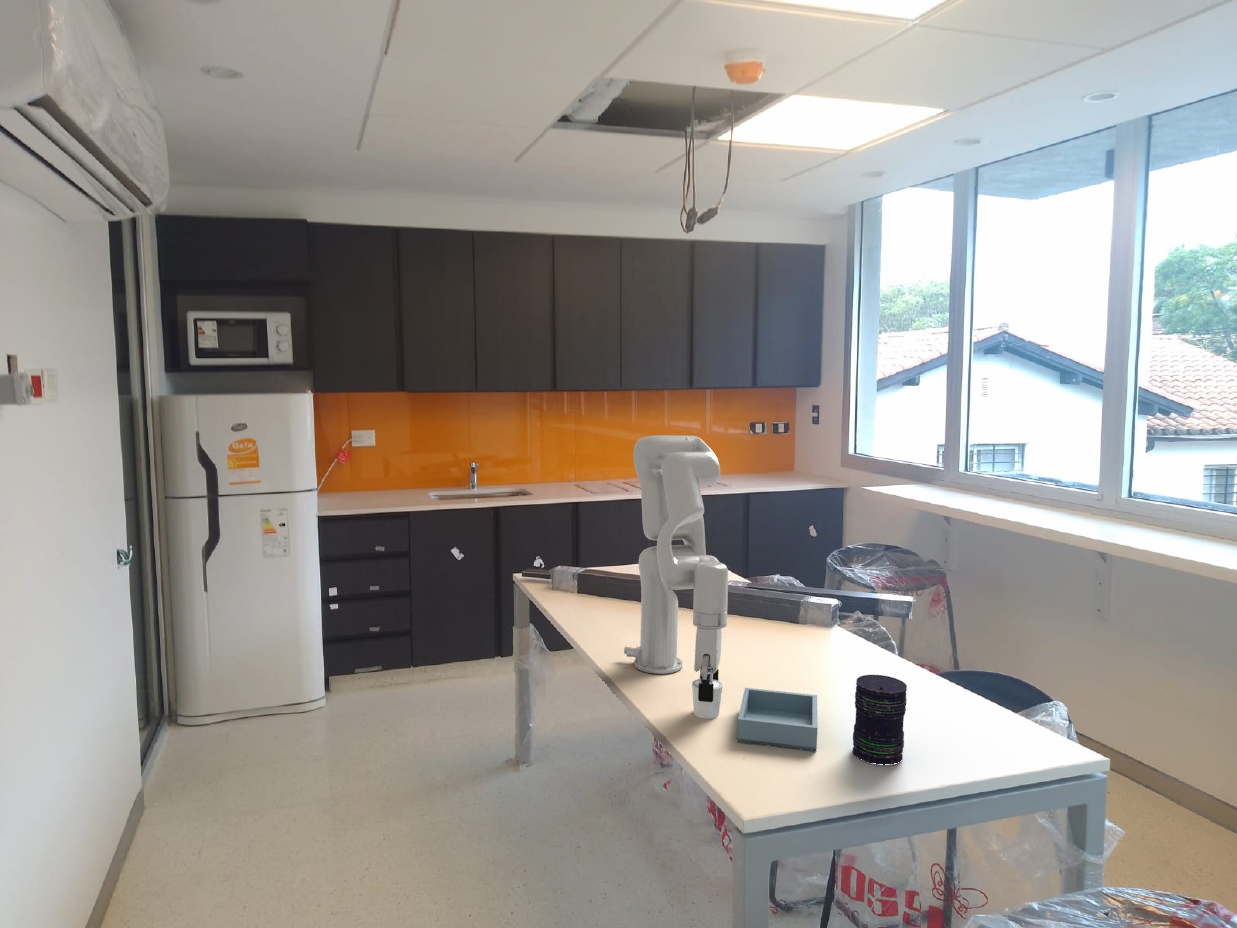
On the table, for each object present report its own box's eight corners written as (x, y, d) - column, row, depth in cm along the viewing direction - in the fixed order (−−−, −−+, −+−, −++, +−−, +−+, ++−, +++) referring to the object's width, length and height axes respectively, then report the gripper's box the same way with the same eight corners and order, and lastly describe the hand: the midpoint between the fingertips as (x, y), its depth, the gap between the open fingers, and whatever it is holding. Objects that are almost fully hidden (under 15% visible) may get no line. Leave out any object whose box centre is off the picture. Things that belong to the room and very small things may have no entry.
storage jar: (852, 740, 174) (856, 671, 172) (902, 747, 171) (906, 677, 169) (851, 761, 164) (855, 688, 163) (904, 769, 161) (908, 695, 160)
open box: (737, 742, 172) (737, 718, 171) (744, 708, 189) (744, 687, 189) (816, 751, 168) (817, 727, 168) (816, 716, 186) (817, 695, 185)
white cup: (724, 710, 188) (725, 680, 188) (718, 721, 182) (719, 690, 181) (695, 705, 191) (696, 676, 190) (687, 716, 184) (688, 686, 183)
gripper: (698, 607, 193) (696, 679, 194) (687, 627, 176) (686, 705, 178) (730, 609, 191) (729, 682, 193) (722, 629, 175) (721, 709, 176)
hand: (708, 693), depth 185 cm, fingers open, 9 cm apart
